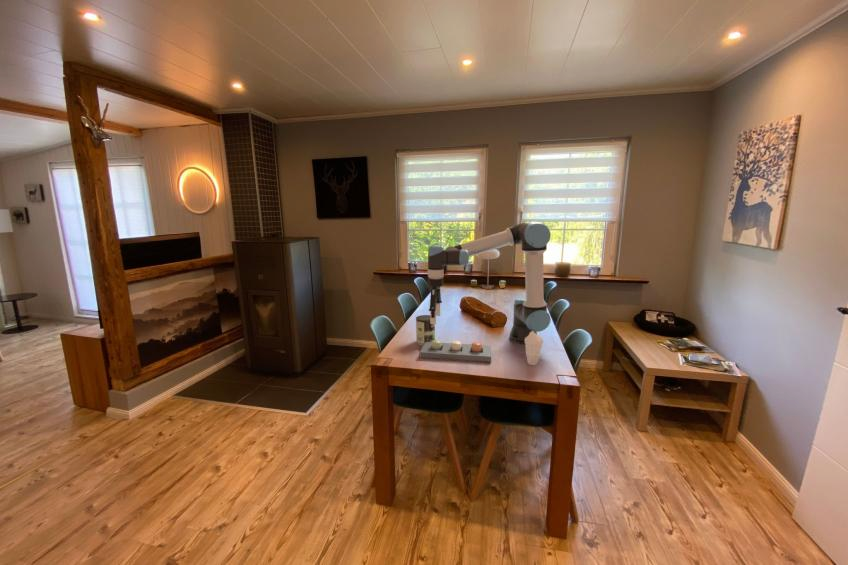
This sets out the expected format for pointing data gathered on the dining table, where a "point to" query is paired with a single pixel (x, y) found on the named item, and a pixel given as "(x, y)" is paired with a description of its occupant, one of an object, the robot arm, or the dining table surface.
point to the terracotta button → (476, 347)
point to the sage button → (436, 345)
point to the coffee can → (424, 329)
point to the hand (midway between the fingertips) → (435, 319)
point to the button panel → (456, 353)
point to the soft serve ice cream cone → (533, 347)
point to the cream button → (455, 346)
